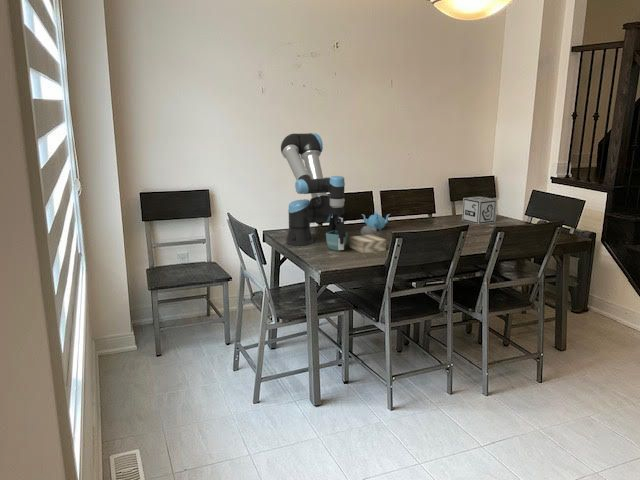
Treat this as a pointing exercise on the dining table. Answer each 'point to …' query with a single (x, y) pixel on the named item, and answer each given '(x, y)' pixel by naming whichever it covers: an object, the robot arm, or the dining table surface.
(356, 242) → the birch block
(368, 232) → the toy rhinoceros
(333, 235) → the flower pot
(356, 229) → the dining table surface
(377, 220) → the teapot
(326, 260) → the dining table surface
